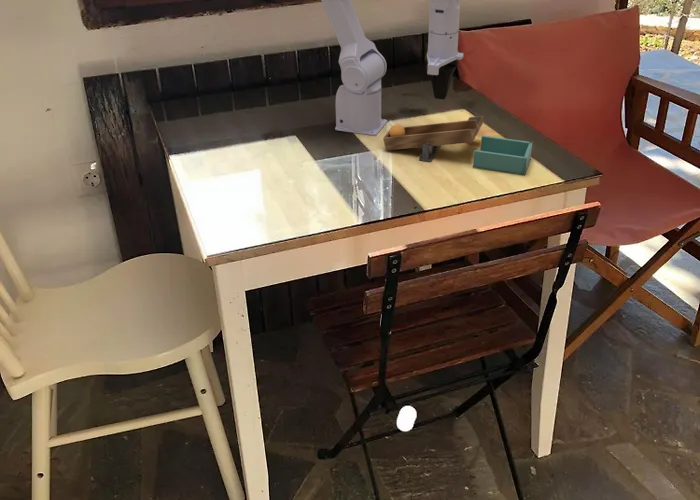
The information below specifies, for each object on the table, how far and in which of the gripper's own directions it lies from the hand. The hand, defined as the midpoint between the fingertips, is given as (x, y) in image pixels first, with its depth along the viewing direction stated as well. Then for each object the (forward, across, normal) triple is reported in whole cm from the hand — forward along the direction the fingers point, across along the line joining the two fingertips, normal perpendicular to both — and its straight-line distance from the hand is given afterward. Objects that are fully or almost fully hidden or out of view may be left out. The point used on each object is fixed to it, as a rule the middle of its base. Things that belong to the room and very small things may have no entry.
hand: (440, 97), depth 145 cm
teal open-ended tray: (+10, -6, -14) cm, 18 cm away
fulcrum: (+9, -6, 0) cm, 11 cm away
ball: (+6, -6, +7) cm, 11 cm away
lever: (+7, -3, 0) cm, 8 cm away
